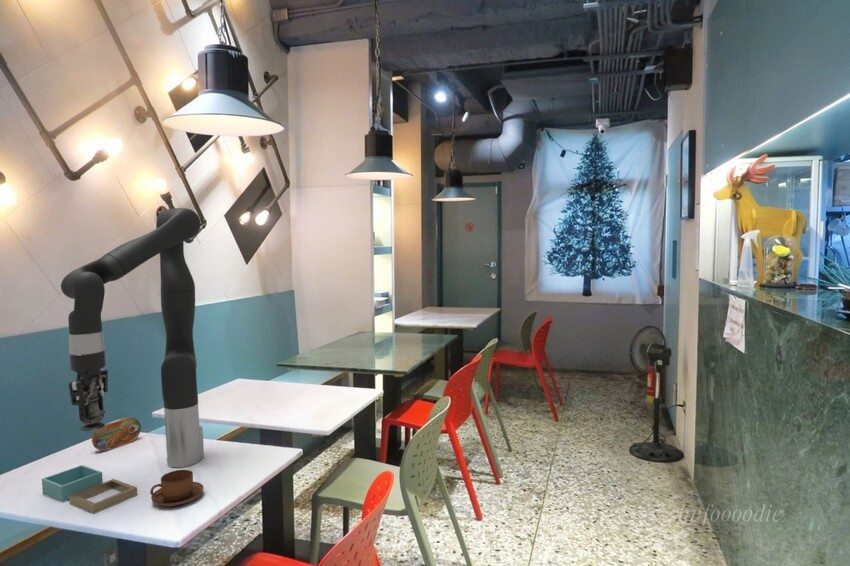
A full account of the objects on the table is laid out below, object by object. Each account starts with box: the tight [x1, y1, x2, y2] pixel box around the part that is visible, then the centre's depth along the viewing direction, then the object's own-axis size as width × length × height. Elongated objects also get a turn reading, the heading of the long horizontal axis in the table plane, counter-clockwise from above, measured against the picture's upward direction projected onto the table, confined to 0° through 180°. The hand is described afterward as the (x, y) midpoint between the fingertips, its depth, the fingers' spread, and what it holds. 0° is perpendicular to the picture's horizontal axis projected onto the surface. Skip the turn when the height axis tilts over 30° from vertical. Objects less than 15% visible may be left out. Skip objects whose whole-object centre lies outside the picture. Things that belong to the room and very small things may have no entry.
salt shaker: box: [77, 386, 106, 432], centre depth 134 cm, size 6×6×12 cm
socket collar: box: [68, 478, 139, 515], centre depth 135 cm, size 11×11×2 cm
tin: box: [91, 416, 142, 452], centre depth 172 cm, size 15×3×8 cm, turn 152°
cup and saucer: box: [149, 469, 204, 507], centre depth 134 cm, size 12×12×6 cm
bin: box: [41, 464, 104, 503], centre depth 140 cm, size 10×10×4 cm
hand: (91, 415), depth 135 cm, fingers closed on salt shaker, 6 cm apart
